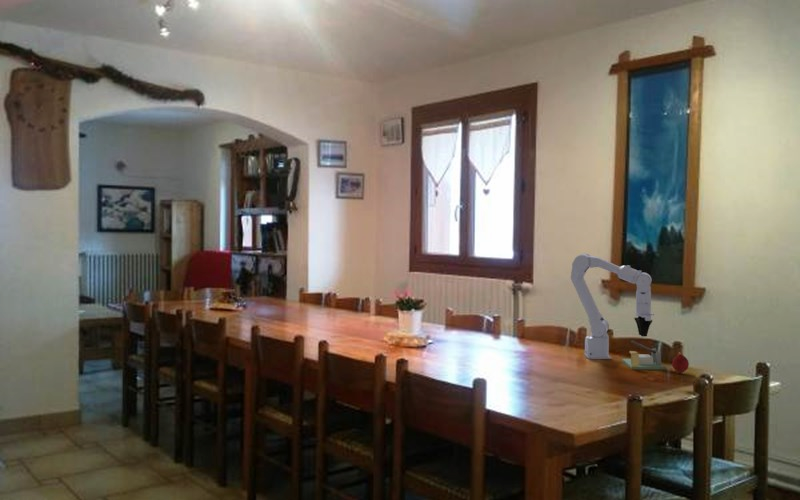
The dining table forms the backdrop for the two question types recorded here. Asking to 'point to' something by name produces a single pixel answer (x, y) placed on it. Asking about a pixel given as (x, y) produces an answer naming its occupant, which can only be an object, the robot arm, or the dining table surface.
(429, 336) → the dining table surface
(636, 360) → the block
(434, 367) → the dining table surface
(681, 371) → the onion
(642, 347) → the strap
